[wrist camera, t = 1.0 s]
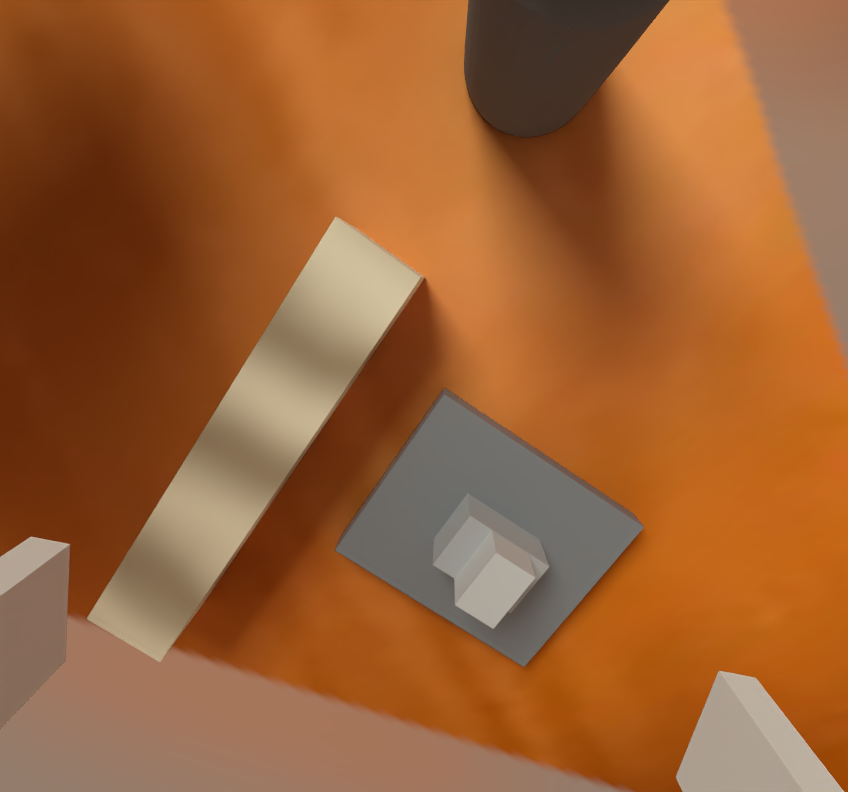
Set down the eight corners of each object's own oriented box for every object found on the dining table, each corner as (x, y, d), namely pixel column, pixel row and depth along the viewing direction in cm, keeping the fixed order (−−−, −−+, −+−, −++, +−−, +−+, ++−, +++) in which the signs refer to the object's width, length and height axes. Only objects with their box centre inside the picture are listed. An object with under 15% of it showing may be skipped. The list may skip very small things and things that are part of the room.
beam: (206, 599, 30) (159, 662, 25) (145, 562, 29) (86, 619, 24) (425, 277, 25) (420, 277, 20) (357, 228, 25) (335, 216, 20)
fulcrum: (340, 536, 28) (313, 603, 22) (444, 387, 26) (443, 419, 20) (520, 647, 29) (538, 740, 23) (633, 513, 27) (684, 578, 21)
